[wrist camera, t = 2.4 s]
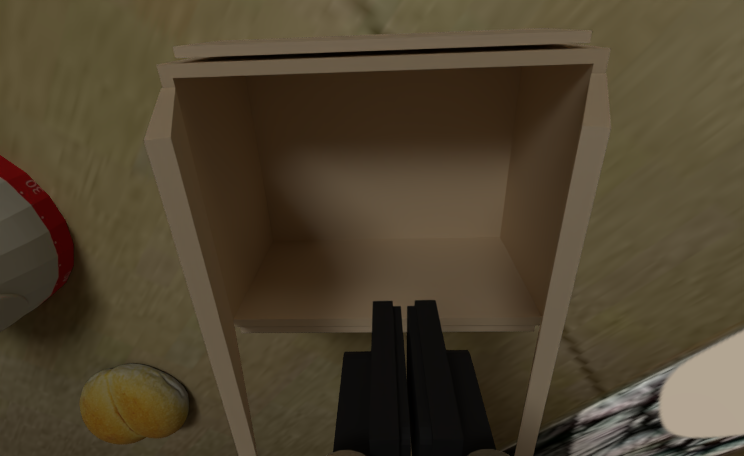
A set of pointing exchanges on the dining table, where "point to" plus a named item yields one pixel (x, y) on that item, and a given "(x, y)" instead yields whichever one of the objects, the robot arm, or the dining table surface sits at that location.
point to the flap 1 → (199, 258)
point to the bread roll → (133, 404)
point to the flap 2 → (567, 254)
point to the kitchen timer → (29, 245)
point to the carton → (385, 171)
